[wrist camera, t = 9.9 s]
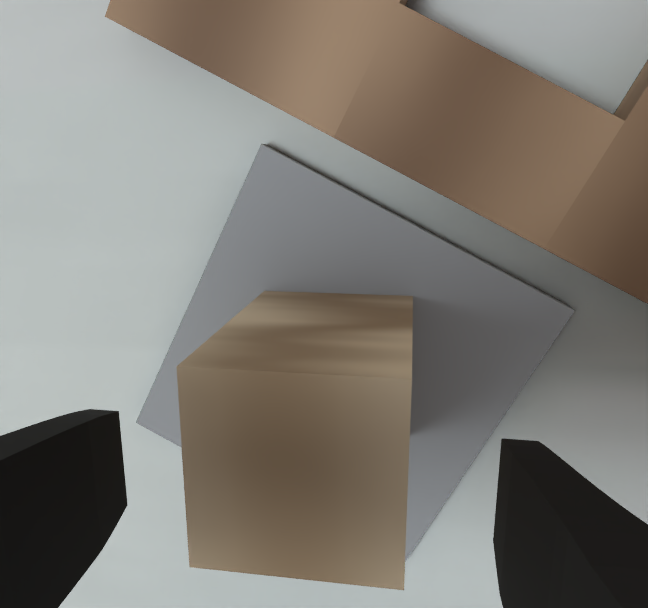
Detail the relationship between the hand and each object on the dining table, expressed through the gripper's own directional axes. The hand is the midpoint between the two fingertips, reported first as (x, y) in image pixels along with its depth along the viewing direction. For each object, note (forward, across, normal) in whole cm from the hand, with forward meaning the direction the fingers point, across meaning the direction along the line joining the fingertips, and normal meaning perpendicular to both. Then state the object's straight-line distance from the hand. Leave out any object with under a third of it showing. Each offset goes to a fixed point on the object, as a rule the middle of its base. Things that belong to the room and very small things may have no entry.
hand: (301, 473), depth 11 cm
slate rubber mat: (+6, 0, 0) cm, 6 cm away
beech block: (+6, 0, 0) cm, 6 cm away
